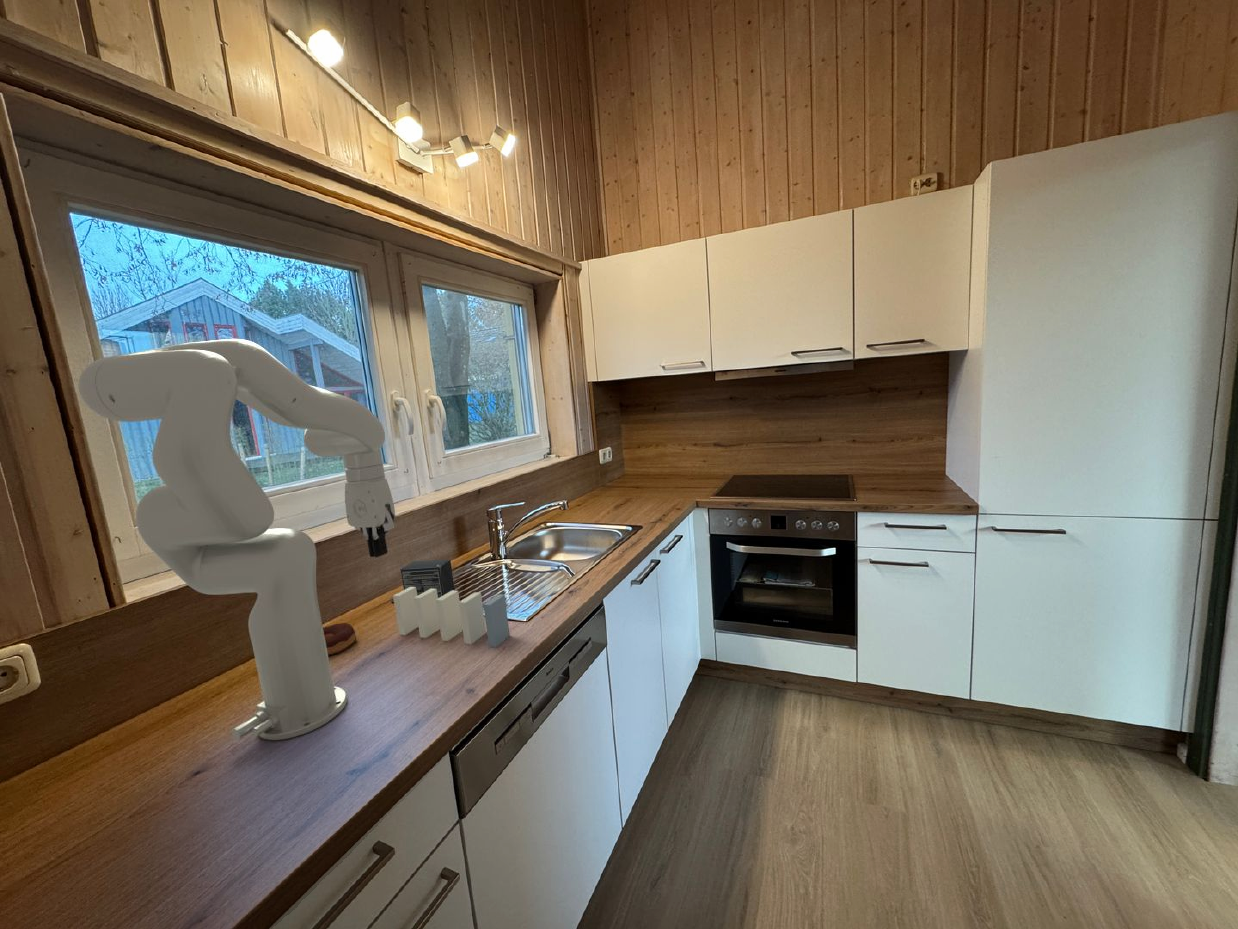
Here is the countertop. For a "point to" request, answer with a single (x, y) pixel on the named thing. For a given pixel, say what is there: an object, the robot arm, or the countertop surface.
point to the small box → (429, 576)
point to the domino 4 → (472, 617)
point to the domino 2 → (427, 613)
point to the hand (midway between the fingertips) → (378, 554)
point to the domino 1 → (406, 610)
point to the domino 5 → (496, 620)
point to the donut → (338, 637)
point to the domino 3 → (449, 615)
